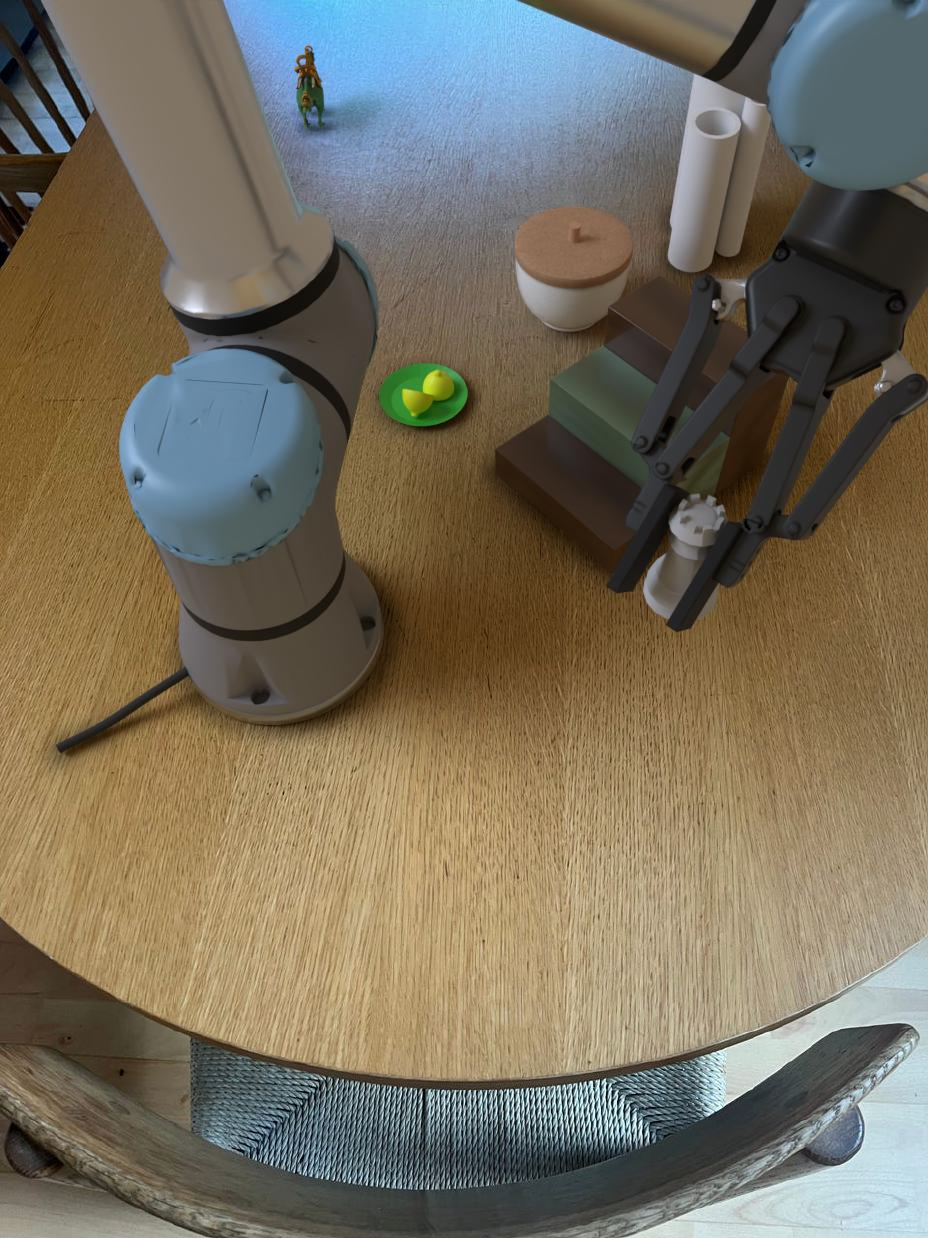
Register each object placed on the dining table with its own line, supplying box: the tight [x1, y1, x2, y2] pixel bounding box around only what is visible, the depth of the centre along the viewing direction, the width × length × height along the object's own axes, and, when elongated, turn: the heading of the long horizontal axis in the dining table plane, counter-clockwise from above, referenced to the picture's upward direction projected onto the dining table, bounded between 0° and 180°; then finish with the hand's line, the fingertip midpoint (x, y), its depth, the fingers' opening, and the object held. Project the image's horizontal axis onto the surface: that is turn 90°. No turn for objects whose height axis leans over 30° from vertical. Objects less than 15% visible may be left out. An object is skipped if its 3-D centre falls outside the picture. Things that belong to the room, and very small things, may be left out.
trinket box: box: [514, 206, 634, 333], centre depth 91 cm, size 11×11×9 cm
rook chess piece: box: [642, 494, 729, 621], centre depth 56 cm, size 4×4×8 cm
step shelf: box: [494, 274, 790, 574], centre depth 79 cm, size 18×14×11 cm
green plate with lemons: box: [378, 362, 468, 427], centre depth 88 cm, size 8×8×3 cm
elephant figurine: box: [294, 44, 326, 130], centre depth 110 cm, size 3×12×8 cm, turn 2°
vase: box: [667, 73, 771, 273], centre depth 92 cm, size 11×7×20 cm, turn 172°
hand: (648, 606), depth 55 cm, fingers closed on rook chess piece, 3 cm apart
